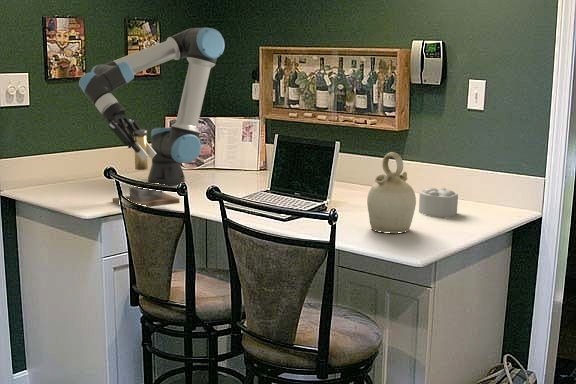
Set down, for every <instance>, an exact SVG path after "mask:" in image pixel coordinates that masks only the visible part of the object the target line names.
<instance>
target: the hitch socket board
mask: <svg viewBox="0 0 576 384" xmlns="http://www.w3.org/2000/svg"><path fill="white" fill-rule="evenodd" d="M118 197H119V196H118ZM118 197H112V203H114V204H115V205H118V206H120V205H119V198H118ZM125 197H126V198H127V199H129V200H130V201H132V202H134V203H137V204H141V205H146V206H150V207H157V206H164V205H165V206H166V205H171V204H172V205H173V204H180V202H181V201H180V198H178V197H175V196H173V195H171V194H168V193H165V192H163V190H162V191H156V190H149V189H143V188H138V187H134V186H129V195H127V196H125Z"/></svg>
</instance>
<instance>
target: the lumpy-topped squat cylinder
mask: <svg viewBox="0 0 576 384" xmlns="http://www.w3.org/2000/svg"><path fill="white" fill-rule="evenodd" d="M418 195H419V198H418V213H419V212H420V214H421V213H423V214H422V215H424V214H426V215H425V216H428V215H431V216H430V217H434V216H439V217H438V218H443V217H449V218H452V217H454V216H456V214H458V204H459V203H458V202H459V201H458V200H459V194H458V193H457V192H454V191H453V190H452V189H451V190H450V189H447V188H445V187H440V188H438V189H437V188H436V187H429V188H427V189H423V190H420V192H419V194H418ZM453 215H454V216H453Z"/></svg>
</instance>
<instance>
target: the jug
mask: <svg viewBox="0 0 576 384" xmlns="http://www.w3.org/2000/svg"><path fill="white" fill-rule="evenodd" d="M390 158H392V159H394V160H395V162H396V170H395V171H392V170H391V169H390V166H389V161H390ZM381 162H382V164H381V166H382V169H383V172H384V173H385V174H378V175H377V176H376V177H375V179H374V182H375V183H374V184H373V185H371V187H370V189H369V191H368V194H367V200H366V202H367V211H368V219H369V224H370V228H372V229H373V230H372V229H371V230H372V231H374V230H376V231H381V232H390V233H398V232H405V231H407V232H409V231H410V228H411V225H412V222H413V218H414V214H415V210H416V206H417V200H416V199H417V198H416V194H415V190H414V188H413V187H412V186H411V185H410V184H409V183H408V182H407V180H408V173H407V171H403V170H404V161H403V158H402V156H400V155H399V153H396V152H395V151H394V152H393V151H391V152H388V153H386V154H385V155H384V156H383V159H382V161H381ZM408 230H409V231H408ZM376 231H375V232H376ZM405 233H406V232H405Z"/></svg>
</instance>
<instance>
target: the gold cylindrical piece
mask: <svg viewBox="0 0 576 384" xmlns="http://www.w3.org/2000/svg"><path fill="white" fill-rule="evenodd" d="M133 135H134V137H133V139H134V140H135V143H136V142H138V143H139V145H140V146H141V147H142V148H143V149H144V151H145V152H146V153H147V142H148V139H147V136H148V129H142V130H133ZM134 168H135V170H137V171H145V170H148V157H147V158H146V159H145V160H144V161H143V160H142V159H141V158H140V157H139V155H138V154H137V153H136V152H135V151H134Z"/></svg>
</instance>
